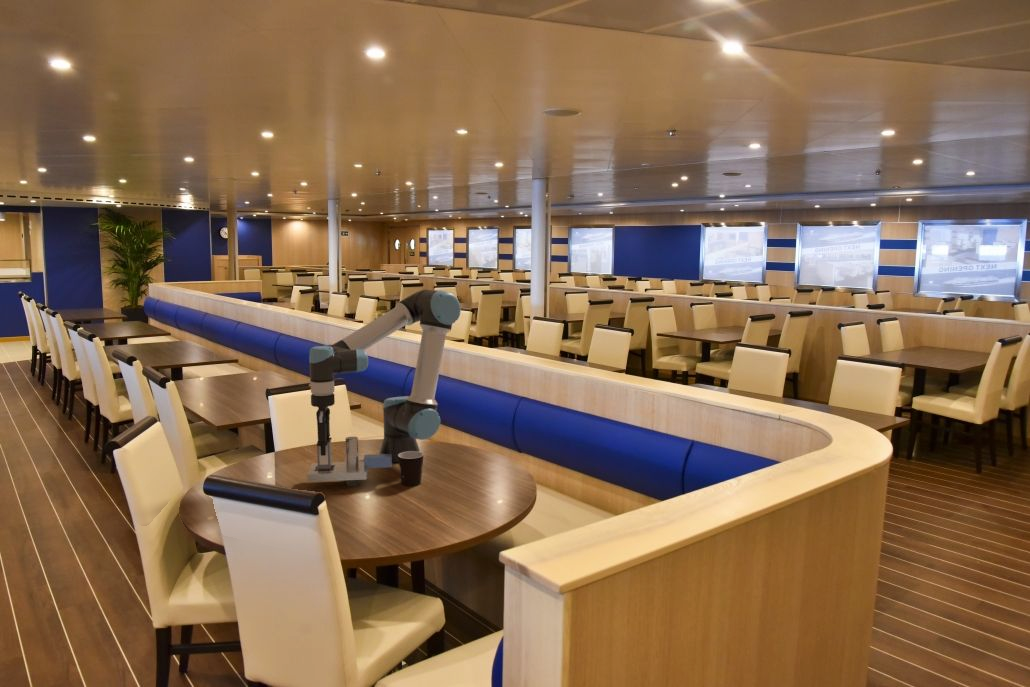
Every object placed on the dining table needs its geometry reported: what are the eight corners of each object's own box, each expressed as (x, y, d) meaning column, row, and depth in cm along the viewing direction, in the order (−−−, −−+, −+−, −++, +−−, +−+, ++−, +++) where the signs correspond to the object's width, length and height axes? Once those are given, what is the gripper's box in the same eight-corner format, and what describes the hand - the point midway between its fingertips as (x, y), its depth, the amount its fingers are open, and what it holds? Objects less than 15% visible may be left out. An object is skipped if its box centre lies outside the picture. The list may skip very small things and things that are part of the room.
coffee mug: (419, 488, 232) (418, 459, 231) (394, 486, 234) (394, 457, 233) (430, 477, 244) (429, 449, 242) (406, 475, 245) (406, 448, 244)
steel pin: (319, 473, 236) (318, 439, 234) (331, 473, 236) (330, 438, 235) (318, 477, 232) (317, 442, 230) (330, 477, 233) (329, 442, 231)
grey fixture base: (392, 477, 244) (391, 432, 241) (391, 488, 232) (390, 441, 230) (312, 480, 240) (311, 434, 238) (307, 492, 228) (305, 444, 226)
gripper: (314, 388, 238) (316, 455, 241) (306, 399, 222) (309, 470, 225) (337, 387, 239) (339, 454, 243) (331, 398, 223) (333, 469, 226)
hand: (324, 461), depth 234 cm, fingers closed on steel pin, 4 cm apart
